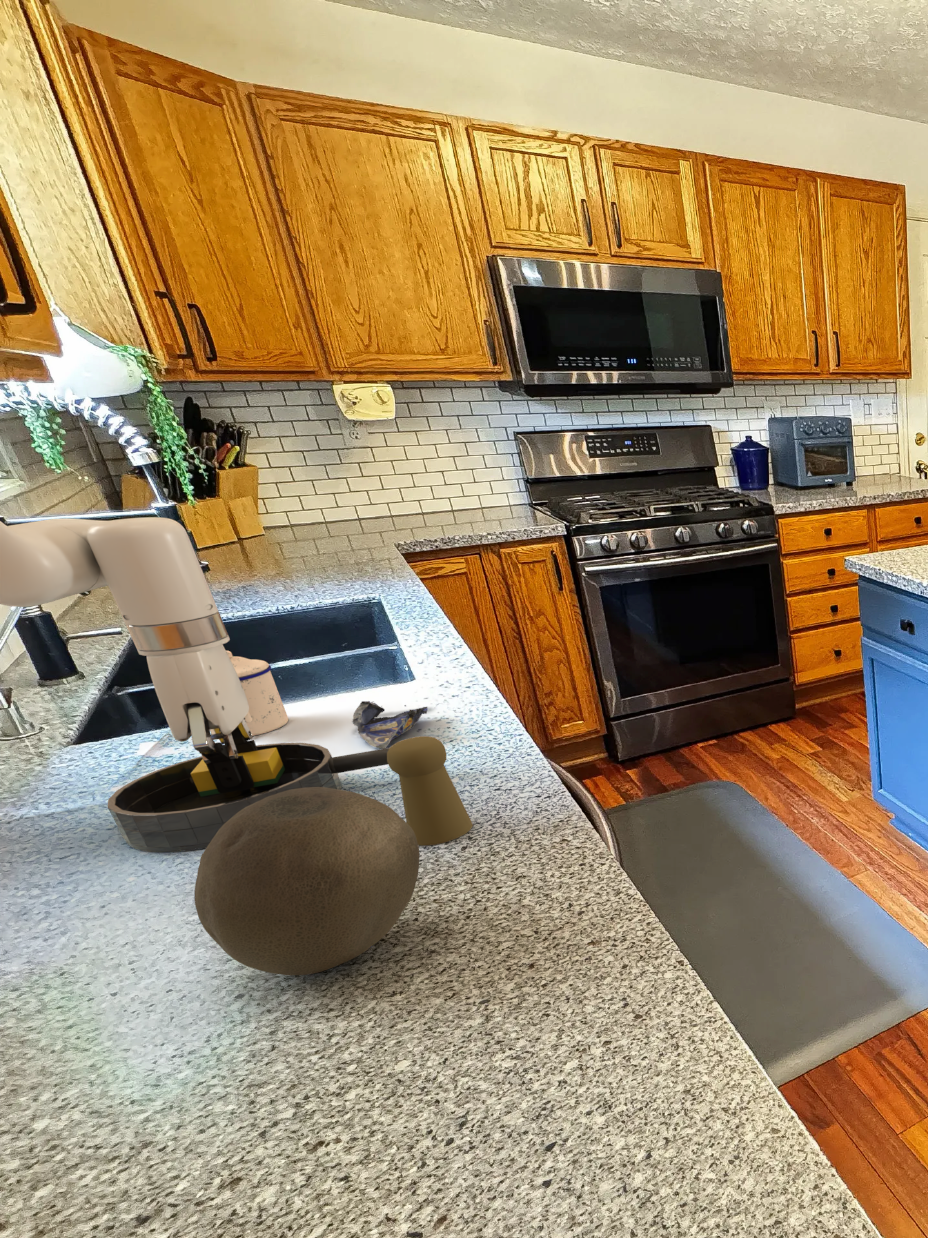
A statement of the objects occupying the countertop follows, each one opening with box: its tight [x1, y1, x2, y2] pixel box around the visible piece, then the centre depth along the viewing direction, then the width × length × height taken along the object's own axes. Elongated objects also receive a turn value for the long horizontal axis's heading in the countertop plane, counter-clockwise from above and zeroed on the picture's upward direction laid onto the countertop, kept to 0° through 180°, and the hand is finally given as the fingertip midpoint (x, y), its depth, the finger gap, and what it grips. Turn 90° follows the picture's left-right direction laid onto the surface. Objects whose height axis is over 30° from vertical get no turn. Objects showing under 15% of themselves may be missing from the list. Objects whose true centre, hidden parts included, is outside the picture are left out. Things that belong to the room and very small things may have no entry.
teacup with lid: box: [210, 650, 289, 737], centre depth 115 cm, size 12×9×12 cm
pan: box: [107, 742, 343, 853], centre depth 93 cm, size 19×19×4 cm
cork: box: [387, 735, 474, 847], centre depth 87 cm, size 6×6×11 cm
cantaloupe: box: [193, 787, 420, 976], centre depth 67 cm, size 14×14×15 cm
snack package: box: [351, 700, 428, 749], centre depth 115 cm, size 12×6×12 cm
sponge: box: [191, 748, 285, 797], centre depth 96 cm, size 7×4×3 cm, turn 119°
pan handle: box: [329, 747, 390, 774], centre depth 99 cm, size 12×2×2 cm, turn 119°
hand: (242, 780), depth 96 cm, fingers closed on sponge, 4 cm apart
